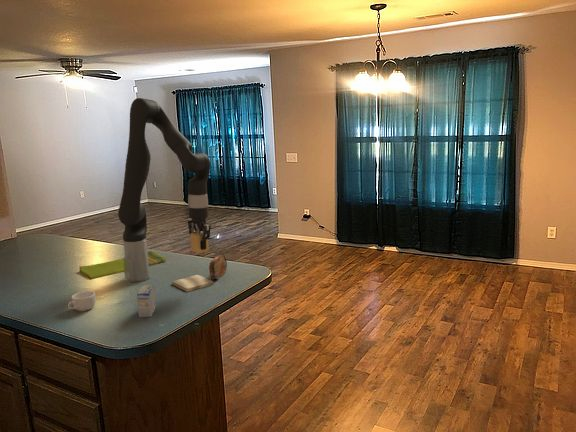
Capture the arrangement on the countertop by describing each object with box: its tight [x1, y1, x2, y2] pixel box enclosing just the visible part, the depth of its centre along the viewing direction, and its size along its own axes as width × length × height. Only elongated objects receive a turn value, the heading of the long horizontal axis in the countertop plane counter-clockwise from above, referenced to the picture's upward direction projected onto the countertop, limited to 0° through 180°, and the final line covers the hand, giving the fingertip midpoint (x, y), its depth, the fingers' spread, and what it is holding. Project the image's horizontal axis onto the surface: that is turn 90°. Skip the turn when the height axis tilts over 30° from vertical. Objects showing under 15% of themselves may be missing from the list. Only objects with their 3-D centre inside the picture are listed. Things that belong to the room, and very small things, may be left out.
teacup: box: [67, 290, 96, 312], centre depth 164 cm, size 10×8×5 cm
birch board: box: [171, 274, 214, 293], centre depth 188 cm, size 12×12×1 cm
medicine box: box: [136, 285, 157, 318], centre depth 160 cm, size 8×4×9 cm, turn 5°
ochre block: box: [190, 232, 210, 254], centre depth 180 cm, size 5×5×7 cm
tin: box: [208, 254, 227, 280], centre depth 197 cm, size 15×3×8 cm, turn 168°
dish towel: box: [78, 250, 167, 280], centre depth 214 cm, size 15×36×3 cm, turn 132°
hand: (199, 247), depth 181 cm, fingers closed on ochre block, 5 cm apart
